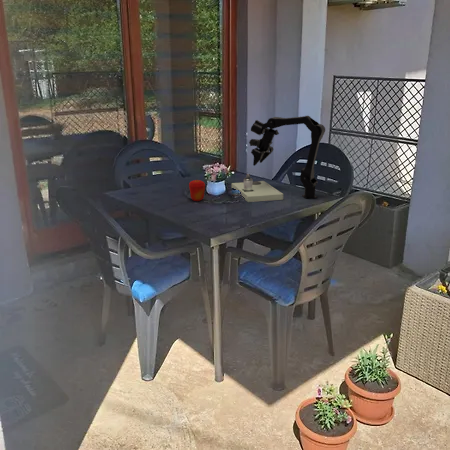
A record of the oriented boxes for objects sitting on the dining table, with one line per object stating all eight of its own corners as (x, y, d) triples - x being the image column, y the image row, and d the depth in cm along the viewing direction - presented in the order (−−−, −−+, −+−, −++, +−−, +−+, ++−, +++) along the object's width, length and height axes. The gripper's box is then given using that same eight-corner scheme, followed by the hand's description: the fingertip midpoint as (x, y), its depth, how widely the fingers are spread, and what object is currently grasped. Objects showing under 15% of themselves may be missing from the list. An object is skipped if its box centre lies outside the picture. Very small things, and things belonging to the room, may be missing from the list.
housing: (283, 199, 266) (283, 193, 265) (248, 202, 260) (248, 196, 259) (263, 186, 293) (263, 180, 292) (231, 188, 288) (231, 182, 287)
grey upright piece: (253, 196, 271) (254, 175, 268) (244, 196, 270) (245, 175, 266) (250, 194, 276) (251, 173, 272) (242, 194, 275) (242, 173, 271)
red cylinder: (208, 199, 264) (208, 178, 260) (197, 203, 258) (196, 181, 254) (197, 196, 270) (197, 175, 266) (185, 199, 264) (185, 178, 260)
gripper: (261, 130, 282) (251, 155, 289) (248, 135, 267) (238, 160, 274) (278, 138, 279) (268, 163, 286) (265, 143, 263) (255, 169, 271)
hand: (257, 163), depth 279 cm, fingers open, 9 cm apart
